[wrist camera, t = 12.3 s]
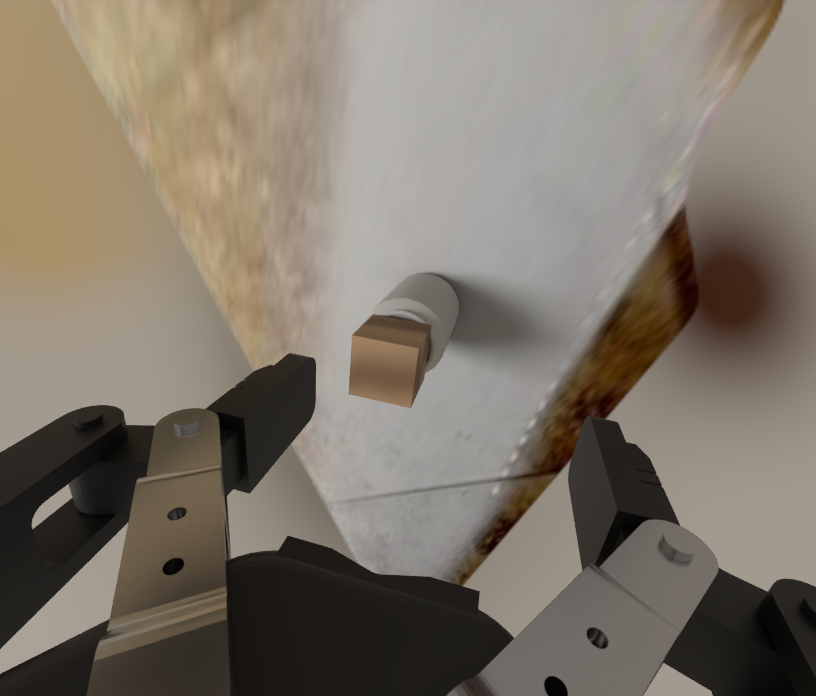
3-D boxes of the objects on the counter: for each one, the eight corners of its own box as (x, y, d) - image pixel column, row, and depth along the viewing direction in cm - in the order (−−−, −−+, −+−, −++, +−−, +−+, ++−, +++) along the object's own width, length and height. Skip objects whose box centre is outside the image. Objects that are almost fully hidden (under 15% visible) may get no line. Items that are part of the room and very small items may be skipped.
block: (373, 313, 35) (352, 335, 31) (431, 325, 34) (418, 348, 30) (369, 366, 37) (348, 394, 33) (423, 378, 36) (410, 408, 32)
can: (465, 332, 46) (450, 381, 36) (402, 340, 49) (369, 388, 38) (453, 265, 44) (432, 297, 33) (386, 277, 46) (347, 310, 35)
